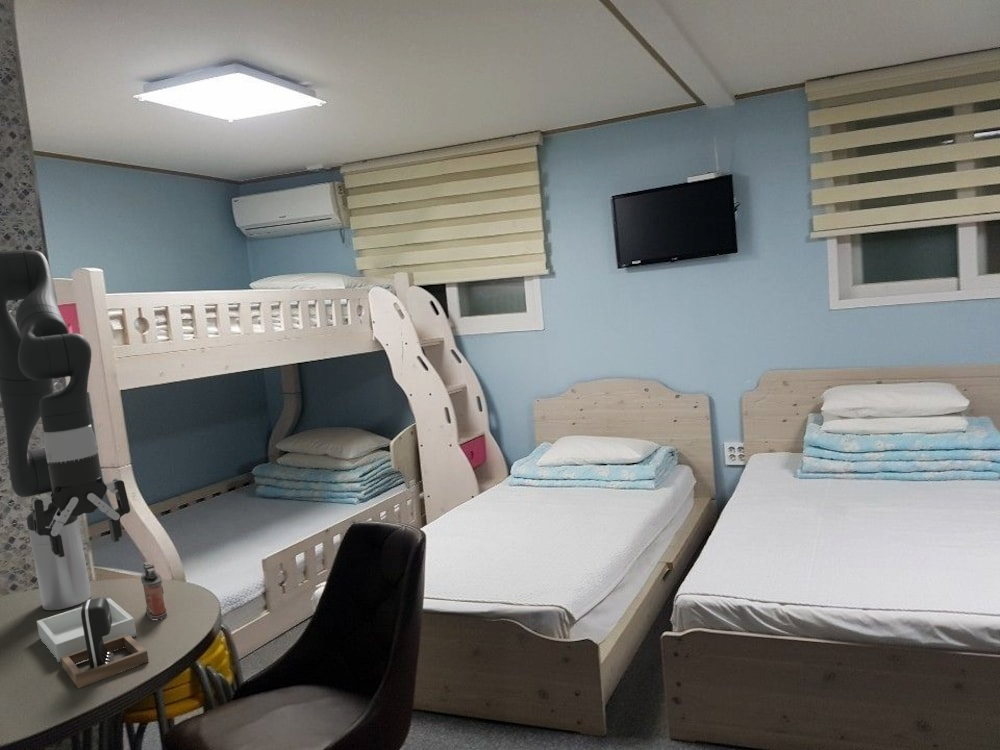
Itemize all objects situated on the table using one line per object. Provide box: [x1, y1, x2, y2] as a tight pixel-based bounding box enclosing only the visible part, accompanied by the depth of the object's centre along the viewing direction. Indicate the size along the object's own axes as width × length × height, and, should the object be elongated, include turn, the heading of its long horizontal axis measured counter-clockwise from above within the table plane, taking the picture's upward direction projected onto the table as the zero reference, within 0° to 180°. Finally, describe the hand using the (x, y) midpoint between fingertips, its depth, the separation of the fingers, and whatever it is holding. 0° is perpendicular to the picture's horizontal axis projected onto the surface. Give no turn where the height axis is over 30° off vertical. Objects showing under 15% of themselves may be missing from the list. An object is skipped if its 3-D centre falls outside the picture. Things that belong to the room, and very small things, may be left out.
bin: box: [36, 597, 138, 662], centre depth 150 cm, size 16×13×4 cm
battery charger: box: [81, 597, 115, 670], centre depth 137 cm, size 7×4×11 cm, turn 22°
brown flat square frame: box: [61, 634, 149, 689], centre depth 137 cm, size 11×11×2 cm
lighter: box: [140, 561, 168, 620], centre depth 158 cm, size 8×3×10 cm, turn 34°
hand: (88, 548), depth 135 cm, fingers open, 8 cm apart
